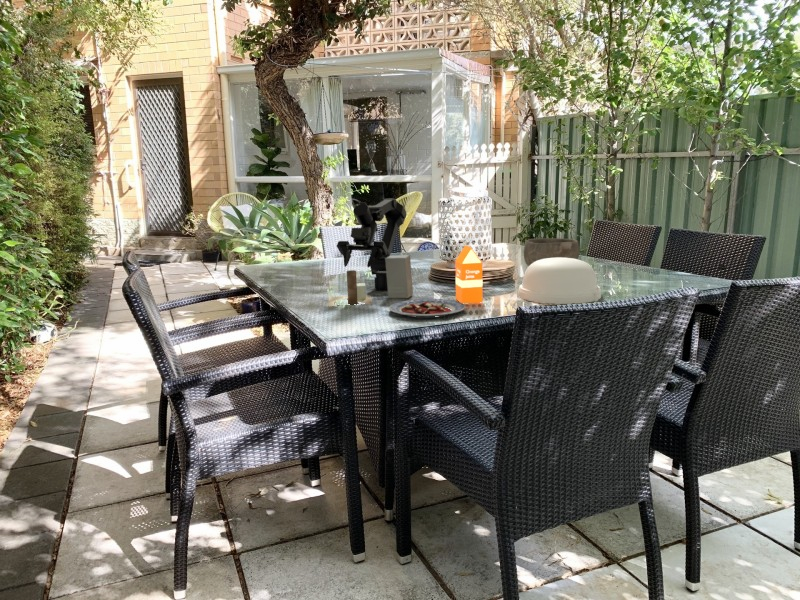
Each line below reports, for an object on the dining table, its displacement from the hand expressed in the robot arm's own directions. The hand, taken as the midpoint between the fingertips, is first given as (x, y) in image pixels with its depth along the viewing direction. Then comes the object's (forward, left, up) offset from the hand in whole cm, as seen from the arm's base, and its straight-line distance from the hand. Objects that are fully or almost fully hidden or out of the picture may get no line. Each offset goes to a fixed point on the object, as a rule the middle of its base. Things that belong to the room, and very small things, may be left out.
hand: (356, 266), depth 228 cm
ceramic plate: (-23, +22, -14) cm, 35 cm away
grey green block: (0, -7, -13) cm, 15 cm away
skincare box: (-16, -6, -13) cm, 22 cm away
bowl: (-88, -45, -14) cm, 100 cm away
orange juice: (-40, +8, -13) cm, 43 cm away
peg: (+2, +4, -13) cm, 14 cm away
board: (+3, -2, -13) cm, 14 cm away
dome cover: (-75, +5, -14) cm, 76 cm away
